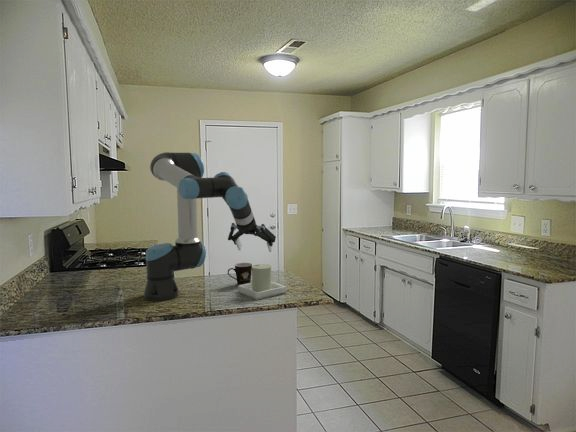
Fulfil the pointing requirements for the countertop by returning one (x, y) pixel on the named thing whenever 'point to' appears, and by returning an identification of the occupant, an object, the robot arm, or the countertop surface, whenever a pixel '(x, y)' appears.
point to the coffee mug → (242, 273)
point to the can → (261, 277)
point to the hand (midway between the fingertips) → (255, 248)
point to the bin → (275, 290)
